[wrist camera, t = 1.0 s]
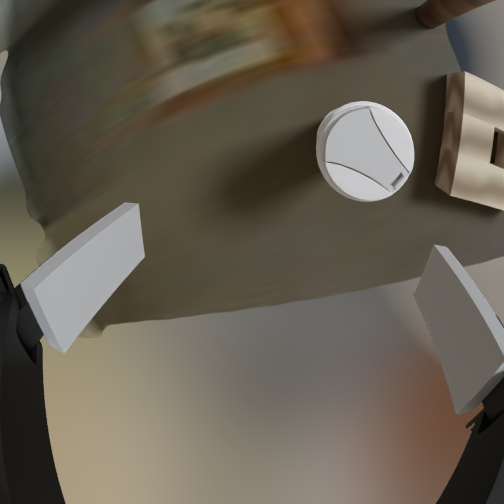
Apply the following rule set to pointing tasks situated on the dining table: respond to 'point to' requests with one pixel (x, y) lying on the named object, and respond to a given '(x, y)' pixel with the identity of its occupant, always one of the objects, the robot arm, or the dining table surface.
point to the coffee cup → (364, 151)
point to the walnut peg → (444, 10)
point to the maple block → (472, 141)
